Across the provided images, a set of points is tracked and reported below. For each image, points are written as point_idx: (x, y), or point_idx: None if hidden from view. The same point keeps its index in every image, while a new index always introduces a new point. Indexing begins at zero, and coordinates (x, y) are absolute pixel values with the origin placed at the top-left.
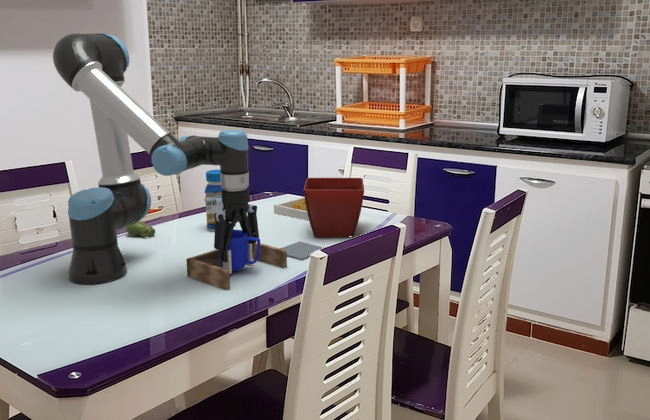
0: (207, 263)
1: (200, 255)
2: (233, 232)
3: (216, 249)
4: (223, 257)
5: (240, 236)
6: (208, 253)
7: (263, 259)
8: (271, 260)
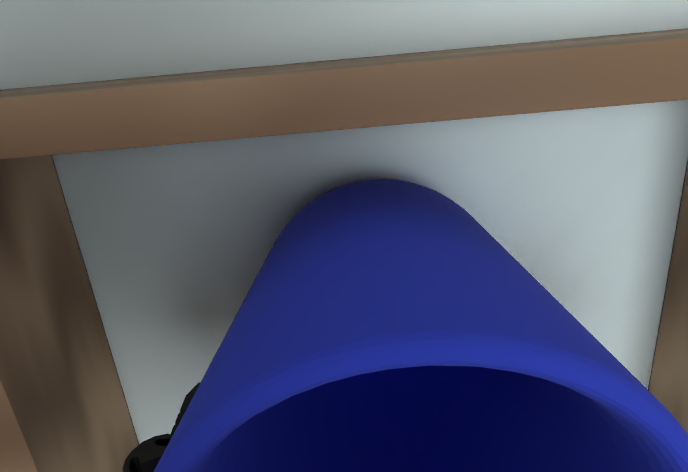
0: (11, 405)
1: (52, 129)
2: (603, 407)
3: (351, 69)
4: None
5: (605, 460)
6: (176, 137)
7: (685, 283)
8: (676, 373)
